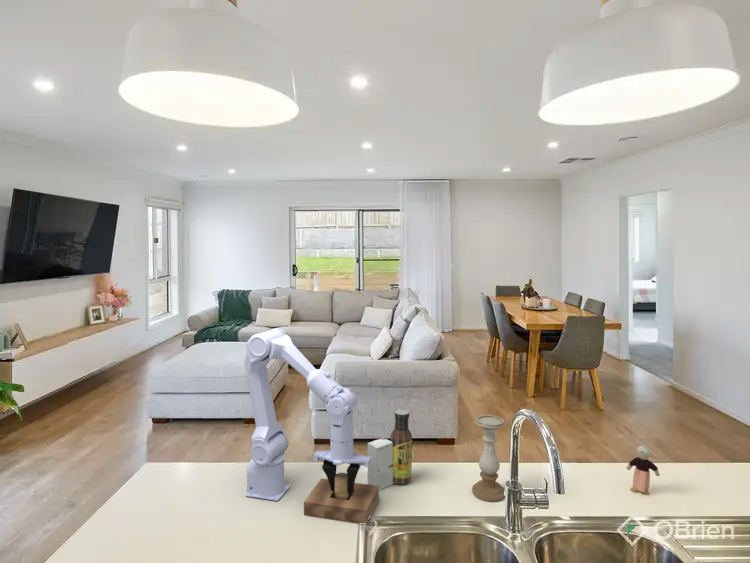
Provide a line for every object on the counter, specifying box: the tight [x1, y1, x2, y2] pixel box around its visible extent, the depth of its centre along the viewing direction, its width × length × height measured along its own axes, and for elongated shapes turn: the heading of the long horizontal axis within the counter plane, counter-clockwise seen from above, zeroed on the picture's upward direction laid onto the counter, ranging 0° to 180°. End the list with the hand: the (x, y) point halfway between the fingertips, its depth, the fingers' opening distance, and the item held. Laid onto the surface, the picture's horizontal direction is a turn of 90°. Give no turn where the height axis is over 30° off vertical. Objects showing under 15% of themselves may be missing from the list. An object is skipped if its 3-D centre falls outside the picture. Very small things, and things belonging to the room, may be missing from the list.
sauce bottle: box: [390, 409, 413, 485], centre depth 134 cm, size 6×6×20 cm
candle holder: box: [471, 414, 506, 502], centre depth 127 cm, size 9×9×20 cm
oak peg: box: [335, 472, 349, 500], centre depth 121 cm, size 4×4×8 cm
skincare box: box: [367, 437, 394, 490], centre depth 132 cm, size 6×4×12 cm
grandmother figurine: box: [626, 445, 661, 496], centre depth 128 cm, size 8×4×13 cm, turn 68°
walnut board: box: [303, 478, 380, 525], centre depth 122 cm, size 16×12×4 cm
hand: (342, 490), depth 121 cm, fingers open, 4 cm apart
